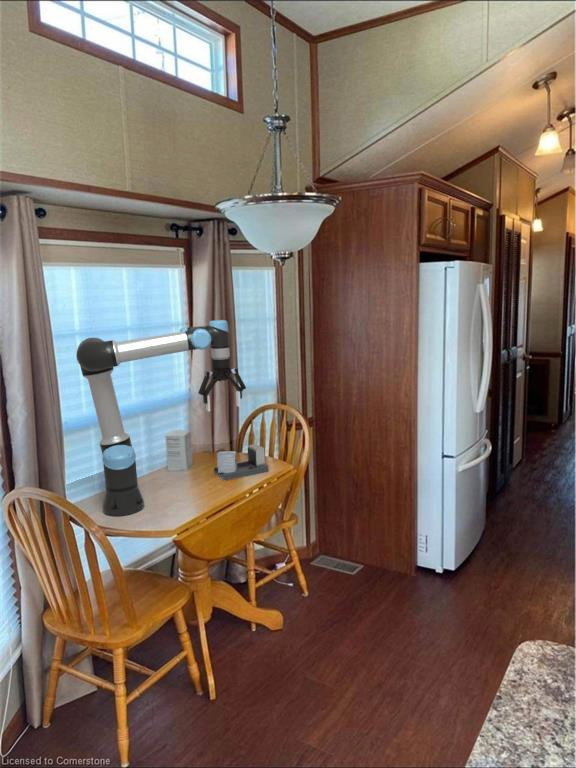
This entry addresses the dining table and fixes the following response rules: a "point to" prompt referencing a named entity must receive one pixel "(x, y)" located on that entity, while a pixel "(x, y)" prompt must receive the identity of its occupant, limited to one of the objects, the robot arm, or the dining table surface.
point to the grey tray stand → (248, 464)
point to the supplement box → (179, 450)
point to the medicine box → (227, 461)
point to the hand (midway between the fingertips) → (223, 408)
